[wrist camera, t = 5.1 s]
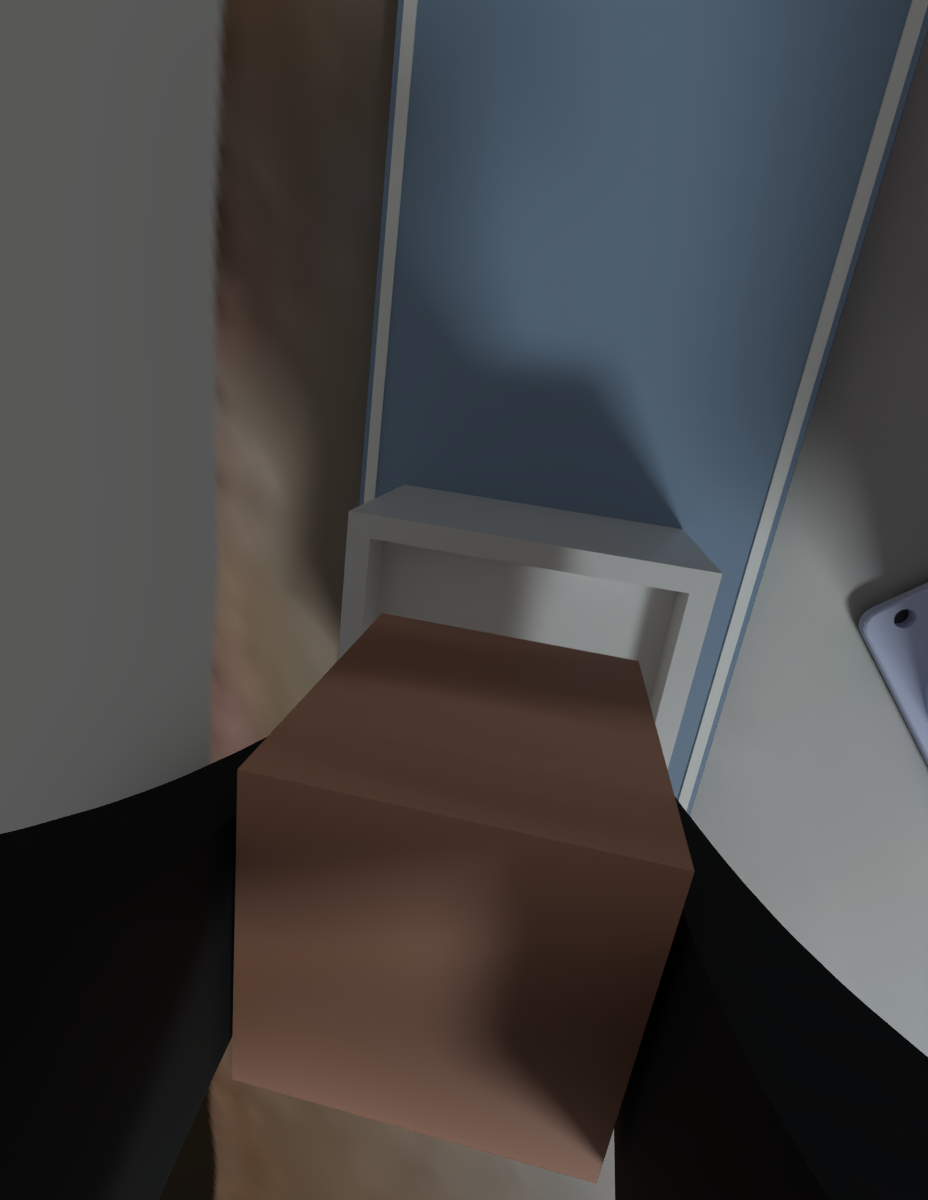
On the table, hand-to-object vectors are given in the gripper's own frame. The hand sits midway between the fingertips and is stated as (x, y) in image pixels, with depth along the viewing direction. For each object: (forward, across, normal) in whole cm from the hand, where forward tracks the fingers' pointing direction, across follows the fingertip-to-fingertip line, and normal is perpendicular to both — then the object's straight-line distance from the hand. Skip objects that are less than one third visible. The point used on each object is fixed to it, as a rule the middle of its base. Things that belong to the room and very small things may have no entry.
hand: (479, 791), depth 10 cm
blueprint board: (+8, 0, -6) cm, 10 cm away
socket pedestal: (+8, 0, 0) cm, 8 cm away
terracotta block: (+1, 0, 0) cm, 1 cm away
